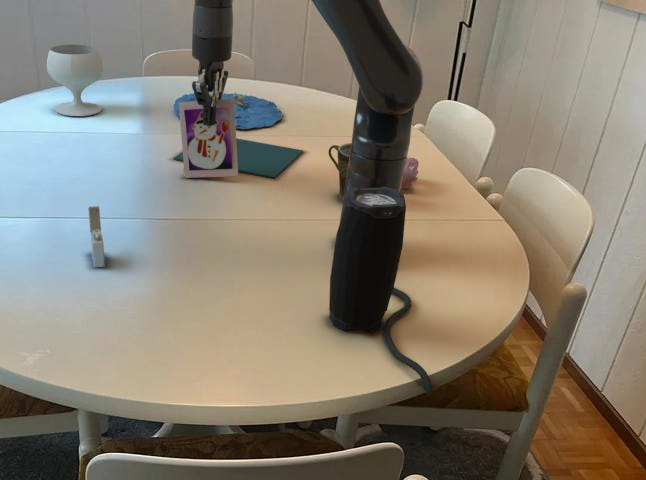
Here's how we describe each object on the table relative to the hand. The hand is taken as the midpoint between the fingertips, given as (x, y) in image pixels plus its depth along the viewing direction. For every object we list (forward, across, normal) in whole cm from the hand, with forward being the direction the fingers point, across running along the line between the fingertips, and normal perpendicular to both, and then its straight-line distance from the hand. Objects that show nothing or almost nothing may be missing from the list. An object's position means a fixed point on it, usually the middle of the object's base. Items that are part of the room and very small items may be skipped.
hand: (209, 124), depth 143 cm
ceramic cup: (+12, -6, +29) cm, 32 cm away
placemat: (+12, -18, 0) cm, 21 cm away
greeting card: (+12, -3, 0) cm, 12 cm away
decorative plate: (+12, -48, -14) cm, 52 cm away
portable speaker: (+12, +41, +42) cm, 60 cm away
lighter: (+12, +41, -2) cm, 43 cm away
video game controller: (+12, -18, +38) cm, 43 cm away
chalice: (+12, -29, -49) cm, 59 cm away
